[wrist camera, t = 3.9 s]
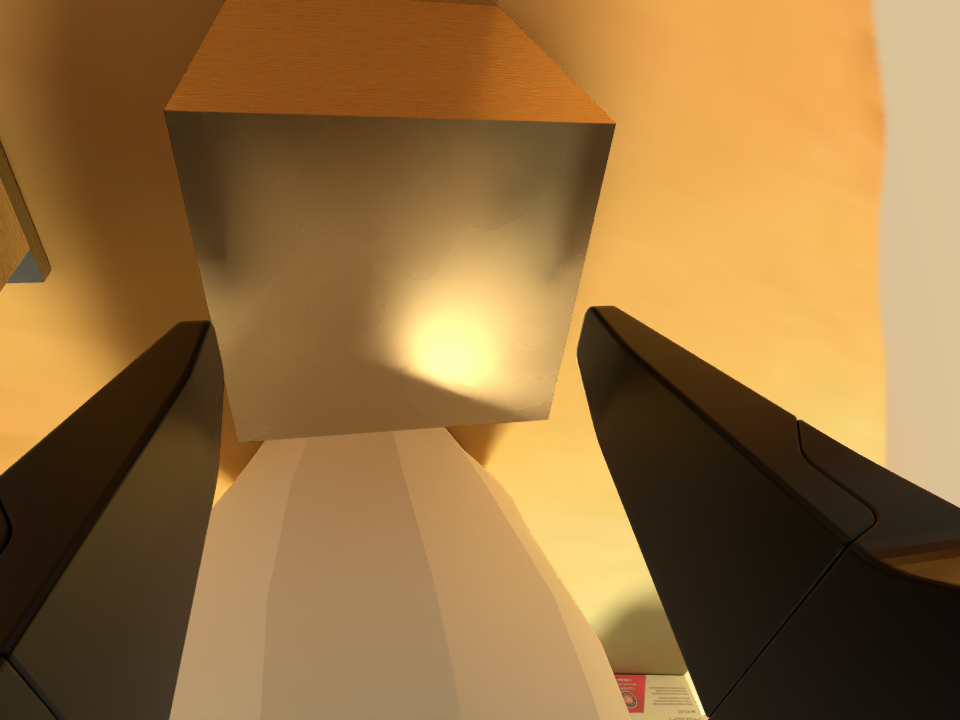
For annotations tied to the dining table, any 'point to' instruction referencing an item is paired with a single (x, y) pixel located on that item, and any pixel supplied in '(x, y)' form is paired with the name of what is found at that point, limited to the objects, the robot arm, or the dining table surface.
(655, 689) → the ink box
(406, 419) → the block
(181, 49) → the dining table surface
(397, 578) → the vase
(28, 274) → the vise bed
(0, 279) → the fixed jaw
